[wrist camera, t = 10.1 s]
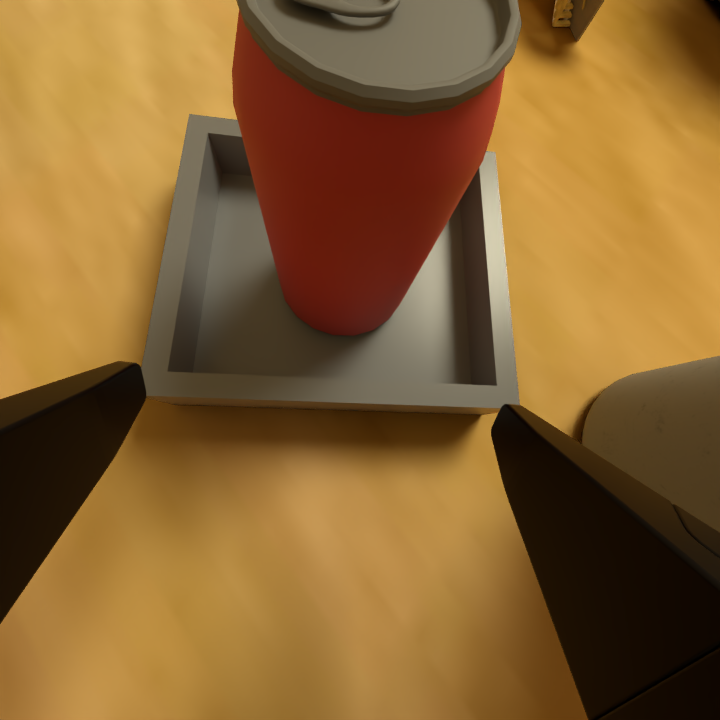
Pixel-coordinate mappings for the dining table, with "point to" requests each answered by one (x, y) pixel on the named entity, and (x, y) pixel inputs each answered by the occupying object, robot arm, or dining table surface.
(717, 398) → the water bottle
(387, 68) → the beer can
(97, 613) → the dining table surface
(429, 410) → the tray
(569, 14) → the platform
